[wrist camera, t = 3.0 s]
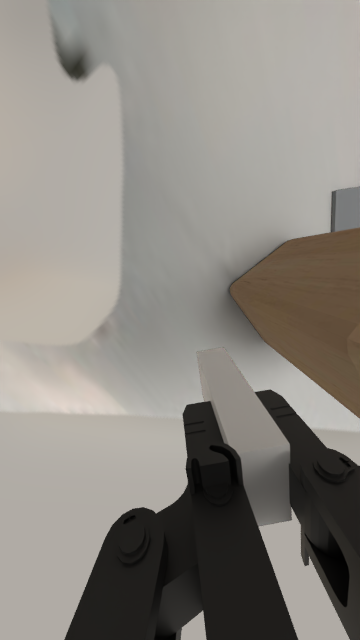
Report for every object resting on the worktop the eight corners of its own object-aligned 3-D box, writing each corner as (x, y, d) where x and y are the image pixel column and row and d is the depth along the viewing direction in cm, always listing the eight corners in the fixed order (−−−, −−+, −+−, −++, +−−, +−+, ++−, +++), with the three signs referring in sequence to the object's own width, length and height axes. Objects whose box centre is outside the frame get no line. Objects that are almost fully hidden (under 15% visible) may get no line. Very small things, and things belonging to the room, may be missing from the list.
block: (327, 299, 29) (647, 374, 10) (265, 344, 30) (442, 491, 11) (290, 236, 27) (617, 169, 7) (224, 287, 28) (357, 347, 8)
